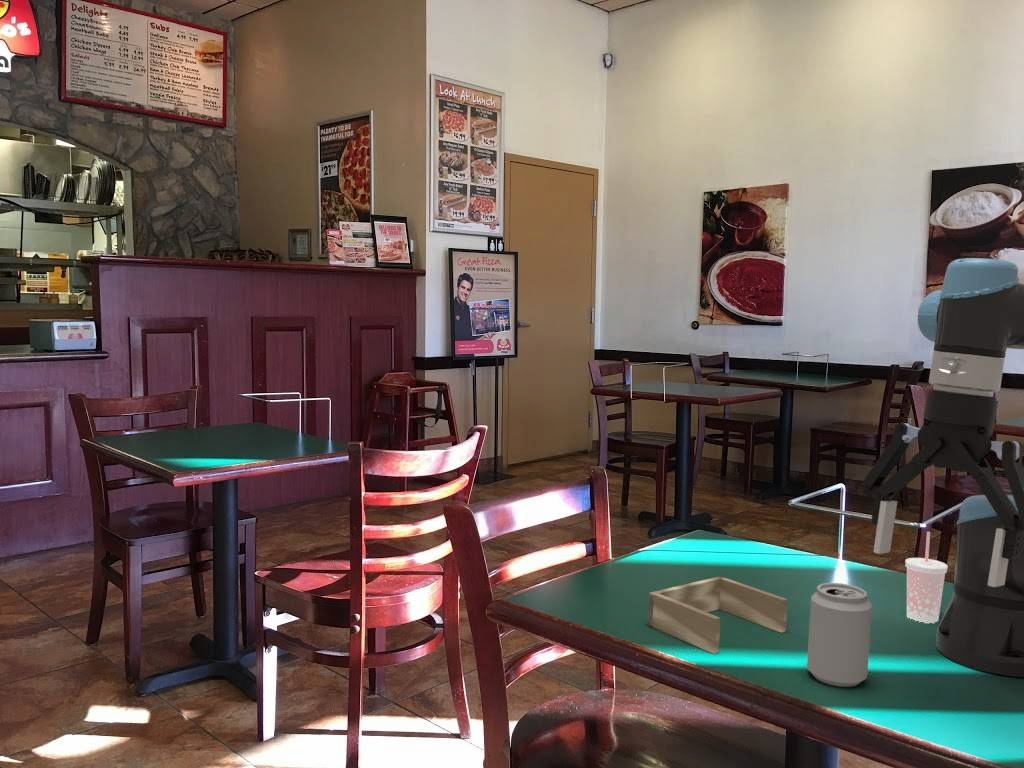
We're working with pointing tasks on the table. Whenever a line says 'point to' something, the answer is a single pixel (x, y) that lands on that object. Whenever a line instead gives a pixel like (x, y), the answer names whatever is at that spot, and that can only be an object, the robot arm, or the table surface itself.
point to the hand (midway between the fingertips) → (935, 568)
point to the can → (839, 634)
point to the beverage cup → (924, 587)
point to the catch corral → (689, 605)
